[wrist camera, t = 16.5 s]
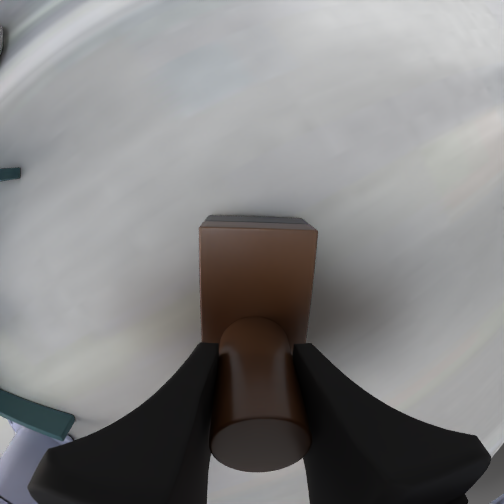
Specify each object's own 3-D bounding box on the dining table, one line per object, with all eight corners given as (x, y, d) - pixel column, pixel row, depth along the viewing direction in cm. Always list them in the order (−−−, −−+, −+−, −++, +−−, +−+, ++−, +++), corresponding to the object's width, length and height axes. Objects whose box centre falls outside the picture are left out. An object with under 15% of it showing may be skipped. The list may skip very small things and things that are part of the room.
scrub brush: (286, 386, 15) (308, 508, 7) (211, 385, 15) (197, 510, 7) (303, 218, 12) (382, 283, 5) (208, 215, 12) (156, 279, 5)
